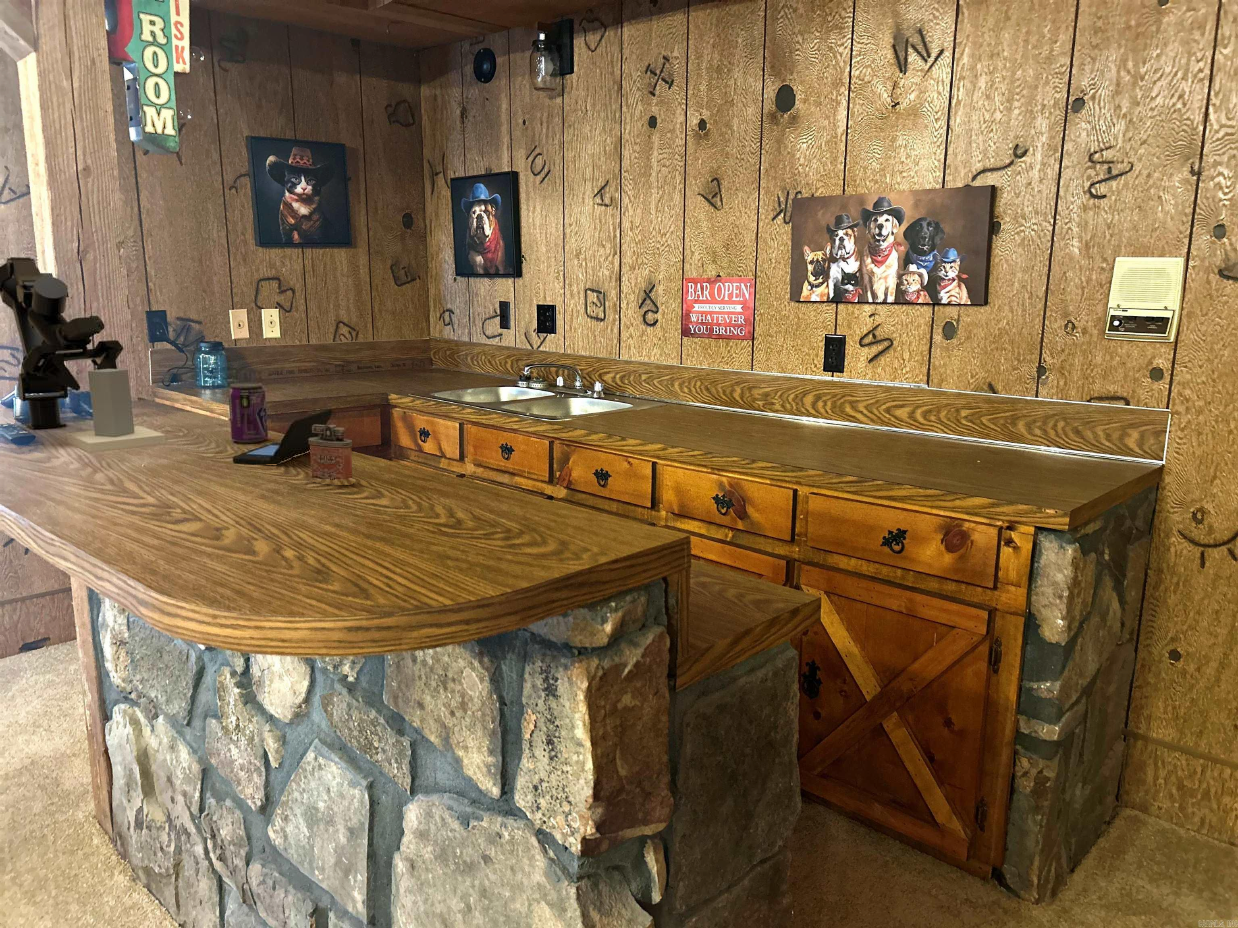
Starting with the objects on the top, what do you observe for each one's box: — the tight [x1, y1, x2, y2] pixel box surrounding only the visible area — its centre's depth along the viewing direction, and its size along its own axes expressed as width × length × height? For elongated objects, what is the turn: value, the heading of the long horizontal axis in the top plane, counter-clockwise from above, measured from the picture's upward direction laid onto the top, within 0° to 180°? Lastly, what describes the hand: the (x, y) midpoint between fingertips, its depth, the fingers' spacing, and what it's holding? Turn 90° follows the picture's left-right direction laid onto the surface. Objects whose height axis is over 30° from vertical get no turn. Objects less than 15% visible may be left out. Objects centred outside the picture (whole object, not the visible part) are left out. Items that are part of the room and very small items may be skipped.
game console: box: [232, 409, 334, 465], centre depth 171 cm, size 16×14×9 cm
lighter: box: [308, 424, 353, 480], centre depth 152 cm, size 8×3×10 cm, turn 71°
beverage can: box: [228, 382, 269, 444], centre depth 186 cm, size 7×7×12 cm
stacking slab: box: [66, 425, 167, 454], centre depth 182 cm, size 14×14×2 cm
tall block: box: [87, 368, 135, 437], centre depth 180 cm, size 5×5×13 cm
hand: (99, 386), depth 181 cm, fingers open, 9 cm apart
